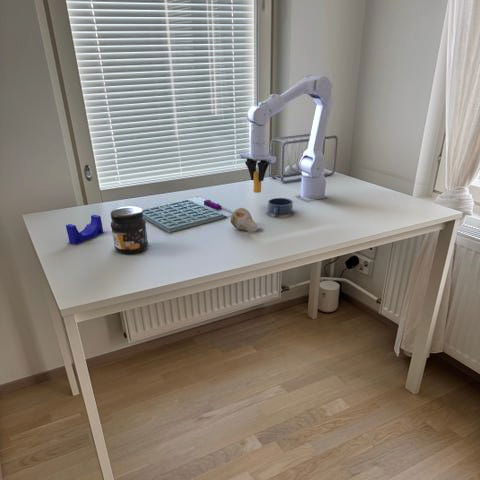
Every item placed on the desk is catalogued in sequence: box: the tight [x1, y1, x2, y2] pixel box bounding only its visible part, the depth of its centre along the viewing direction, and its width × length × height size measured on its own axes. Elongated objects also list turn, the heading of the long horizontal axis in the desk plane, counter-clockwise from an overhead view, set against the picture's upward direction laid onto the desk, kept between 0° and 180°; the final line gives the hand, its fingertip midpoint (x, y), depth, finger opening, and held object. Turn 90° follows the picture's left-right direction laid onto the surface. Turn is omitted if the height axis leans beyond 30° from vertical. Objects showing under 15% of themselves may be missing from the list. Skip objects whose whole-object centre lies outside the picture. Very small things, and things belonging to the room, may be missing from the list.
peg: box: [252, 170, 262, 194], centre depth 174 cm, size 3×3×8 cm
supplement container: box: [110, 206, 149, 255], centre depth 141 cm, size 10×10×12 cm
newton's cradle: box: [269, 133, 339, 184], centre depth 210 cm, size 30×10×18 cm, turn 118°
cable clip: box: [65, 214, 104, 246], centre depth 152 cm, size 12×4×6 cm, turn 148°
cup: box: [267, 197, 294, 218], centre depth 169 cm, size 12×9×4 cm
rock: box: [230, 207, 260, 234], centre depth 155 cm, size 8×10×10 cm
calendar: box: [141, 196, 227, 233], centre depth 172 cm, size 27×29×2 cm
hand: (257, 180), depth 174 cm, fingers closed on peg, 3 cm apart
